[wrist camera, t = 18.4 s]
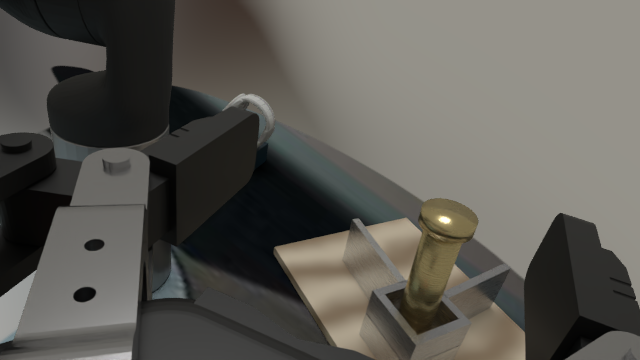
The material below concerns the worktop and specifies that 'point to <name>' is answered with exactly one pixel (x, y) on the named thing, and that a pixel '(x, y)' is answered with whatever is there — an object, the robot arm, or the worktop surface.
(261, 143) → the watch
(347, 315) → the board
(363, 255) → the hinge
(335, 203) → the worktop surface
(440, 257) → the hinge pin
